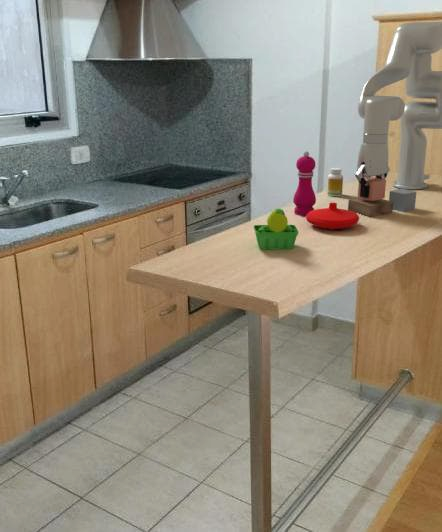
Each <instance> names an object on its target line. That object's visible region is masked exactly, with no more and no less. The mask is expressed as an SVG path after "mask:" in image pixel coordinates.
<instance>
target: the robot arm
mask: <svg viewBox="0 0 442 532" xmlns="http://www.w3.org/2000/svg"><path fill="white" fill-rule="evenodd" d="M440 50H442V21H413V22H412V21H411V22H405V23H402V24H399V26H398V27H397V28H396V31H395V32H394V35H393V37H392V40H391V43H390V47H389V50H388V54H387V57H386V59H385V63H384V66H383V67H381V68H380V69H379V70H377V71H376V72H375V73H374V74H373V75H372V76H371V77H370V78H369V79H368V80H366V83H365V84H364V86H363V88H362V91H361V94H360V98H359V101H358V106H357V113H358V115H359V117H360V118H361V119H363V121H364V122H363V132H362V133H363V136H362V144H360V148H359V152H358V158H357V165H356V173H355V174H354V175H355V178H356V179H357V182H358V185H359V184H360V185H361V187H360V197H364V198H369V187H370V186H369V185H368V184H369V181H370V178H371V177H374V178H380V179H385V180H386V178H387V176H388V174H389V173H390V171H391V168H390V167H389V144H388V143H389V142H388V140H389V130H390V129H389V128H390V121H392V122H394V121H398V120H399V119H400V129H401V130H400V142H399V143H400V145H399V156H398V158H399V159H398V165H397V166H398V167H397V179H396V181H393V182H392V186H393V187H395V188H397V189H406V190H423V189H426V188H427V187H428V183H426V182H425V180H428V179H430V177H431V176H430V174H429V173H425V164H426V156H427V155H426V154H427V147H428V145H427V144H428V140H427V136H426V134H425V133H424V131H423V129H428V130H429V129H431V130H442V70H432V57H433V56H432V54H435V53H438V51H440ZM404 79H405V93H406V96H408V97H409V98H411V99H412V98H413V99H423V100H424V99H426V100H427V99H429V100H431V99H432V100H435V101H436V102H435V101H420V100H419V101H417V100H416V101H415V100H414V101H408V102H406V103H405V101H404V100H403V99H402V98H401V97H399V96H395V95H376V93H377V92H379V91H380V90H382V89H383V88H385V87H387V86H390V85H392V84H393V85H394V84H395V83H397V82H401V81H402V80H404ZM364 178H366V180H365V179H364Z"/></svg>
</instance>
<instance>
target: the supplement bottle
mask: <svg viewBox="0 0 442 532" xmlns="http://www.w3.org/2000/svg"><path fill="white" fill-rule="evenodd" d="M343 185H344V176H343V174H342V168H341V167H331V168H330V170H329V174H328V175H327V185H326V186H327V188H326V189H327V190H326V196H329V197H333V196H338V197H341V196H342V195H343Z"/></svg>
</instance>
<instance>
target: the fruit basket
mask: <svg viewBox="0 0 442 532" xmlns="http://www.w3.org/2000/svg"><path fill="white" fill-rule="evenodd" d="M288 222H289V221H288V218H287V216H286V213H285V211H284V210H283V209H281V208H276V209H274V210H272V211H271V213H270V214H269V215H268V217H267V218H266V224H254V225H253V226H252V227H253V230H254V234H255V236H256V237H255V238H256V241H257V245H258V249H259V250H293V249H294V247H295V243H296V240H297V237H298V235H299V230H298V228H297V226H296V225H295V224H289V223H288Z"/></svg>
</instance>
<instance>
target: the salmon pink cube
mask: <svg viewBox="0 0 442 532" xmlns="http://www.w3.org/2000/svg"><path fill="white" fill-rule="evenodd" d="M364 179H365V180H366V177H365V178H364ZM386 183H387V179H386V178H385V179H380V178H375V176H372V177H371V178H370V181H369V184H368V185H369V186H370V187H369V198H364V197H360V187H361V185H360V184H359V183H358V189H357V198H361V199H366V200H370V201H374V200H379V199H385V196H386V186H387V185H386Z"/></svg>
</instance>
